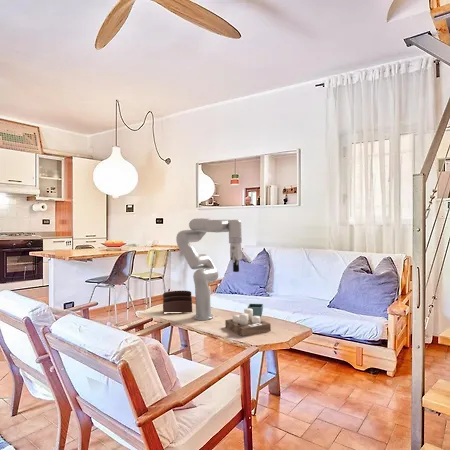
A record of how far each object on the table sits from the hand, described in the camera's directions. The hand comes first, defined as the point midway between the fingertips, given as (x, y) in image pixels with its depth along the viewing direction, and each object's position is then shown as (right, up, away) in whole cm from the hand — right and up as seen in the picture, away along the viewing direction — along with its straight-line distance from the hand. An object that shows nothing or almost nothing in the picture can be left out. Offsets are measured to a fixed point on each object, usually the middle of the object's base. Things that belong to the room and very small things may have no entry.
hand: (236, 271), depth 205 cm
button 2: (+4, -29, -10) cm, 31 cm away
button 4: (+11, -31, -7) cm, 34 cm away
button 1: (+1, -31, -3) cm, 31 cm away
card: (+10, -28, -13) cm, 32 cm away
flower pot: (+13, -32, +12) cm, 36 cm away
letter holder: (-39, -33, +37) cm, 63 cm away
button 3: (+8, -28, 0) cm, 29 cm away
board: (+6, -32, -6) cm, 33 cm away
